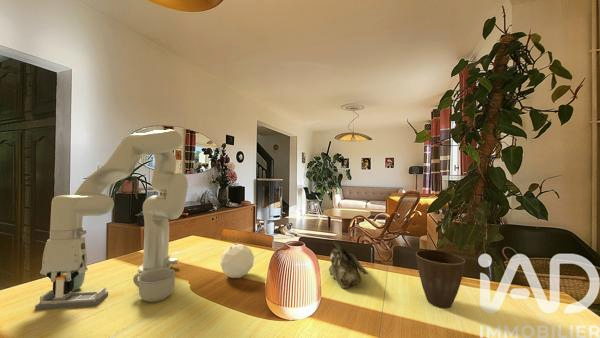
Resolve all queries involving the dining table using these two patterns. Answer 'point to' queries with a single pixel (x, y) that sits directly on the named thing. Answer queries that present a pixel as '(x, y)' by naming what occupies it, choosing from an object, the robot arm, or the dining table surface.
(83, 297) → the grey tray
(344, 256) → the hollow geode rock
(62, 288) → the fader tab
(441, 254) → the plant pot
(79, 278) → the cup
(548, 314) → the dining table surface
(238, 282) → the dining table surface
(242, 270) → the geodesic sphere
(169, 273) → the teacup
